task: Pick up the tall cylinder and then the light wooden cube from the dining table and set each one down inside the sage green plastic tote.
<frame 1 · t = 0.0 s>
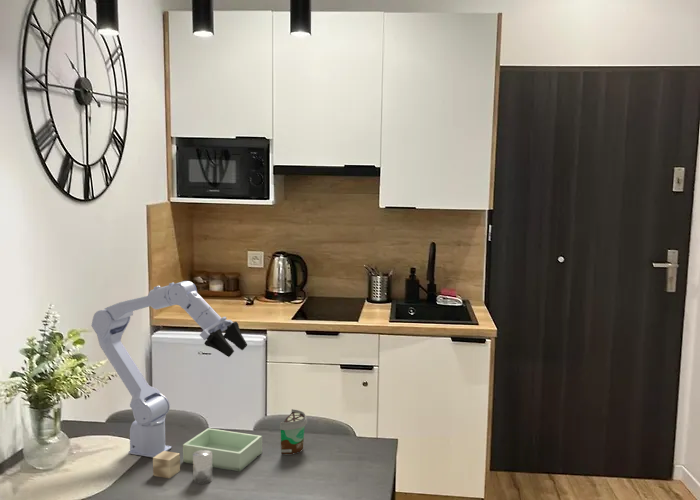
hand: (238, 350, 188), 32 cm above the table, tool tilted 50°, fingers open, 7 cm apart
cube: (166, 473, 186), on the table
cylinder: (202, 479, 182), on the table
tote: (223, 457, 197), on the table
food container: (296, 450, 203), on the table
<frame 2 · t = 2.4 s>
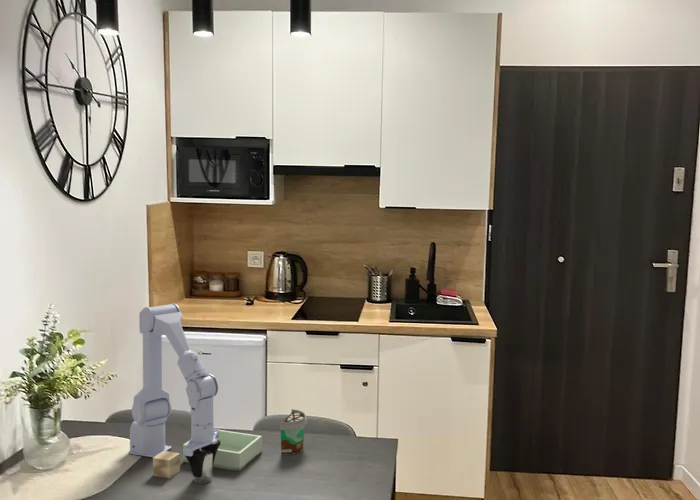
hand: (202, 472, 182), 2 cm above the table, tool pointing down, fingers closed on cylinder, 5 cm apart
cylinder: (202, 479, 182), on the table, touching gripper
everything else where it was.
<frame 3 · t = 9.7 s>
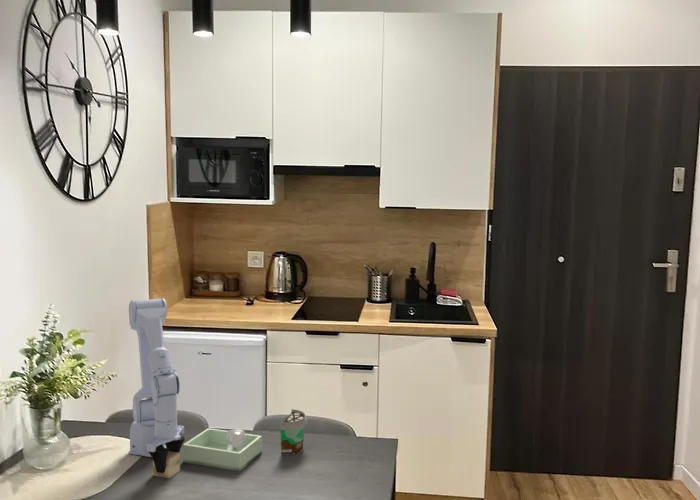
hand: (166, 468, 186), 1 cm above the table, tool pointing down, fingers closed on cube, 5 cm apart
cube: (166, 473, 186), on the table, touching gripper
cylinder: (235, 456, 195), point 1 cm above the table, touching tote
everything else where it was.
when the fingers open (4 cm above the table, at t = 13.4 s): cube drops 2 cm, resting on tote.
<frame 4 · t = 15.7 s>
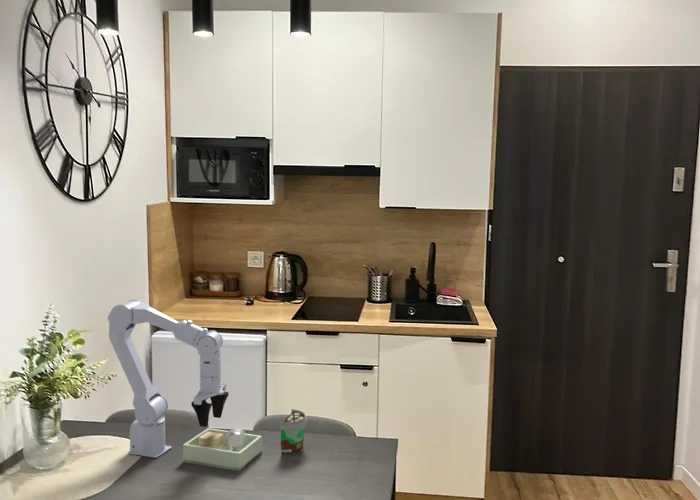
hand: (210, 421, 197), 10 cm above the table, tool pointing down, fingers open, 7 cm apart
cube: (211, 452, 198), point 1 cm above the table, touching tote
everything else where it was.
at the end: cylinder inside the target area on the tote (4.0 cm from its centre), point 0.9 cm above the tote's base; cube inside the target area on the tote (3.9 cm from its centre), point 0.8 cm above the tote's base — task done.
